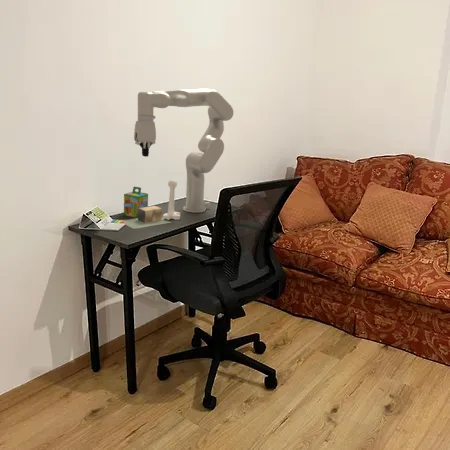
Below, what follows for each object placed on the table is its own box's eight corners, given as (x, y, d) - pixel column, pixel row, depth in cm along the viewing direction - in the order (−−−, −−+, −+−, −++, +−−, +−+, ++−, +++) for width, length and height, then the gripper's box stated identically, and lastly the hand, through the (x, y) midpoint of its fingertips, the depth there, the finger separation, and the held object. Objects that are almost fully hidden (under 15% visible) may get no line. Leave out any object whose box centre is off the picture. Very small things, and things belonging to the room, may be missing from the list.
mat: (155, 216, 246) (155, 215, 246) (171, 223, 235) (171, 222, 235) (118, 221, 233) (118, 220, 233) (133, 229, 222) (133, 228, 222)
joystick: (173, 215, 249) (175, 177, 244) (185, 218, 246) (187, 179, 240) (160, 219, 239) (162, 180, 234) (173, 222, 236) (175, 182, 231)
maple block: (137, 219, 236) (155, 217, 242) (144, 222, 232) (161, 220, 238) (137, 208, 235) (155, 205, 241) (144, 211, 230) (161, 208, 236)
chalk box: (123, 215, 243) (123, 187, 239) (133, 212, 251) (133, 184, 247) (138, 218, 240) (138, 190, 235) (148, 214, 248) (148, 187, 243)
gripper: (154, 117, 238) (154, 154, 243) (127, 117, 228) (128, 155, 234) (162, 119, 232) (162, 156, 237) (135, 119, 223) (135, 158, 228)
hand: (145, 156), depth 235 cm, fingers closed
